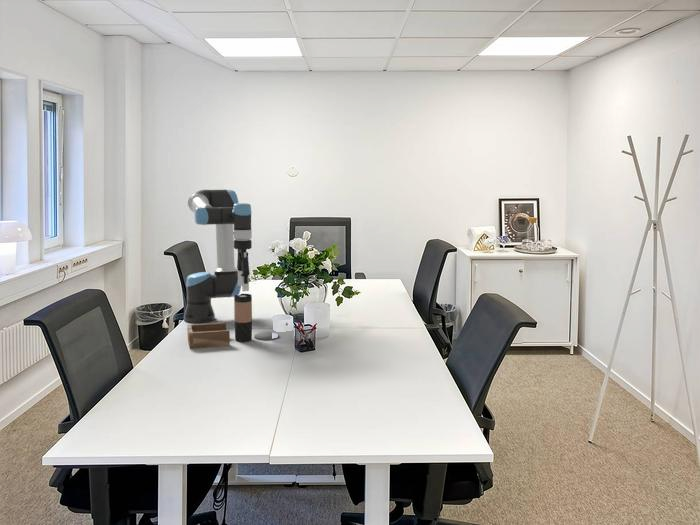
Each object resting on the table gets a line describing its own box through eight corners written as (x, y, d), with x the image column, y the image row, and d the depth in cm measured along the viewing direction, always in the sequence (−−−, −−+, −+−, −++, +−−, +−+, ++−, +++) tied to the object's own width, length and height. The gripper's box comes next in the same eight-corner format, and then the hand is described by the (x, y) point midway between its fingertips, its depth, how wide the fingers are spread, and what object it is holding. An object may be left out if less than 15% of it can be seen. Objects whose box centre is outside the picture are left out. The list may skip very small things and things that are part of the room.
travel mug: (250, 342, 256) (250, 297, 253) (232, 342, 256) (232, 296, 253) (253, 337, 263) (253, 293, 260) (236, 337, 263) (236, 293, 261)
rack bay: (187, 339, 259) (187, 324, 258) (225, 336, 265) (225, 322, 264) (189, 348, 245) (189, 333, 244) (229, 345, 250) (229, 330, 250)
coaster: (252, 334, 268) (252, 332, 268) (276, 333, 272) (276, 331, 272) (256, 341, 258) (256, 339, 258) (281, 339, 261) (281, 337, 261)
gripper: (230, 237, 264) (231, 283, 267) (237, 242, 240) (238, 293, 243) (247, 236, 266) (247, 283, 269) (256, 242, 243) (256, 293, 246)
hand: (243, 288), depth 256 cm, fingers open, 13 cm apart
